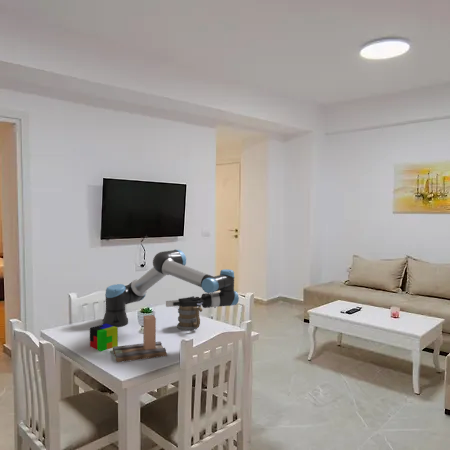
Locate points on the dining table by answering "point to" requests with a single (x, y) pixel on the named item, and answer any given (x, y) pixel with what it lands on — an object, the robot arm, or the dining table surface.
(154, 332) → the salmon tan rectangular block
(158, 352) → the wooden plank board
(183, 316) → the tankard
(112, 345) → the puzzle toy
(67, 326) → the dining table surface
